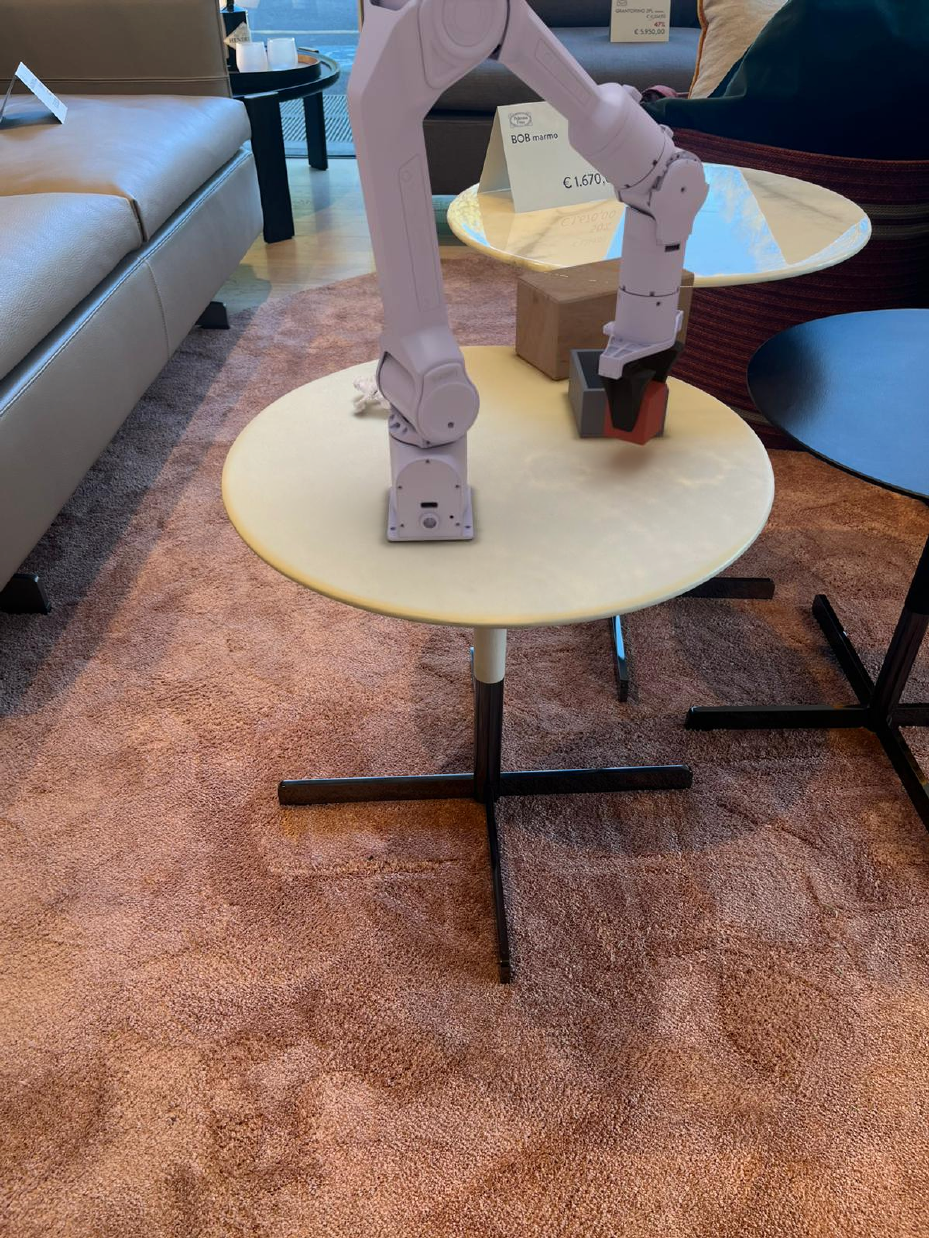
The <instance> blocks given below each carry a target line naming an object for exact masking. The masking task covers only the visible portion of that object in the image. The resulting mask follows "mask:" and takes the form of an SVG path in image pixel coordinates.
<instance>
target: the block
mask: <svg viewBox="0 0 929 1238" xmlns="http://www.w3.org/2000/svg"><path fill="white" fill-rule="evenodd" d="M667 386H668V384H667V383H666V384H665V383H660V382H656V381H652V380H651V381H650V383H649V385H648V387H647V389H646V391H645V393H644V396H643V399H642V402H641V406H640V410H639V415H638V418H637V421H636V424H635V427H634V429H633V431H631V432H626V431H622V430H619V429H615V428H613V427H612V422H611V416H610V410H609V404H608V399H607V406H606V416H605V427H604V435H606V436H609V437H608V438H613V439H618V440H621V441H624V442H627V443H631V444H635V445H639V446H642V447H644V446H645V445H646V444H647V443H648V442H649V441H650V440H651V439H653V437H655V436H654V435H655V434H656V433H657V432H658V431H660V430H661V428H662V421H663V413H664V406H665V399H666V392H667Z"/></svg>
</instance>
